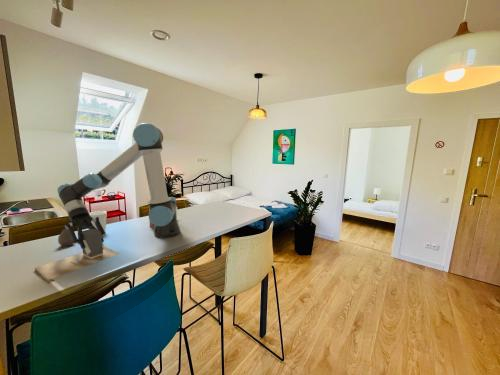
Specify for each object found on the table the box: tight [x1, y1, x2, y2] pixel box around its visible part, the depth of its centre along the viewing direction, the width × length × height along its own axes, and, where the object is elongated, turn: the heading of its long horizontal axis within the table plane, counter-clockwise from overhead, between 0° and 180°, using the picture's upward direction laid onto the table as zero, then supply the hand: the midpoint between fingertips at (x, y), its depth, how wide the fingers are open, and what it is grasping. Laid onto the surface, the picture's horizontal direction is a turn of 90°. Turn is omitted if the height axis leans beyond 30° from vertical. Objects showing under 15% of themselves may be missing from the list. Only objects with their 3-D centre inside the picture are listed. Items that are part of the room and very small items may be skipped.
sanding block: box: [82, 229, 103, 259], centre depth 99 cm, size 8×5×11 cm, turn 59°
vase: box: [57, 228, 74, 248], centre depth 113 cm, size 7×7×9 cm
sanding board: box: [34, 246, 120, 283], centre depth 95 cm, size 26×16×1 cm, turn 149°
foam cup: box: [89, 210, 108, 232], centre depth 130 cm, size 10×9×13 cm
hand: (96, 251), depth 97 cm, fingers closed on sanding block, 5 cm apart
